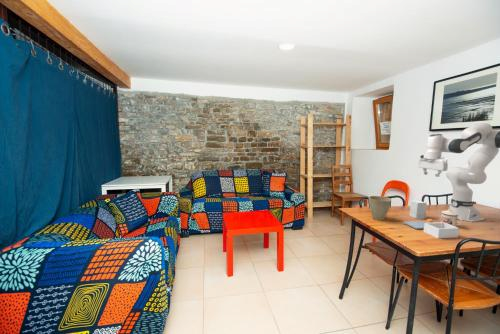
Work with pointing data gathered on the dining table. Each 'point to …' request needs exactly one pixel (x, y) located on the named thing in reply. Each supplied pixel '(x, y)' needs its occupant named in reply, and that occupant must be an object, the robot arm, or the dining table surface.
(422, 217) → the supplement box
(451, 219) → the teacup with lid
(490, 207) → the dining table surface
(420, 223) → the lid
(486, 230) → the dining table surface
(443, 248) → the dining table surface
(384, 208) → the plant pot
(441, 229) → the tub
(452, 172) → the robot arm
